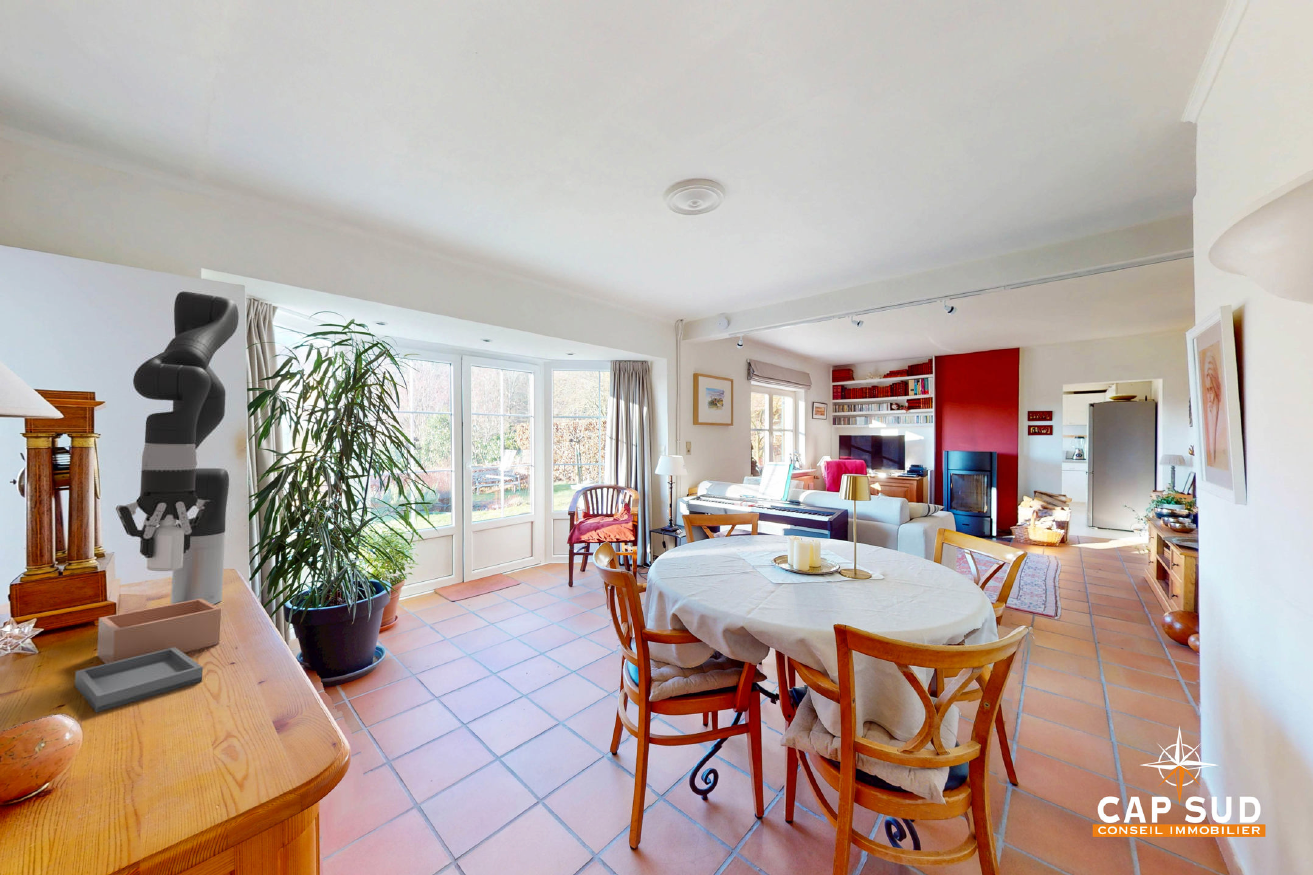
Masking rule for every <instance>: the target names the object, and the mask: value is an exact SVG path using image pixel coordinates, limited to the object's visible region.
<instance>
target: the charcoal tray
mask: <svg viewBox="0 0 1313 875" xmlns="http://www.w3.org/2000/svg"><path fill="white" fill-rule="evenodd" d="M203 668H204V667H203V666H202V665H201V664H199V663H197V662H196V661H195V660H193V658H191V657H190V656H188V655H187V654H185V653H183V652H181V651H180V650H178V649H177V648H176V647H173V648H169V649H165V650H161V651H157V652H152V653H148V654H144V655H140V656H136V657H132V658H128V659H124V660H120V661H115V662H111V663H107V664H105V663H103V664H100V665H97V666H96V665H95V666H91V667H87V668H84V669H80V670H79V669H77V670H75V676H74V677H75V678H74V679H75V680H74V687H75V688H76V689H77V691H78V692H79V693H80V694H81V695H82V696H83V698H84V699H85V700H86V702H87V703H88V704H89V705H90V706H91V708H92V709H93V711H95V713H96V714H97V713H100V712H104V711H108V710H110V709H113V708H117V707H120V706H124V705H126V704H130V703H133V702H134V703H135V702H137V701H141V700H143V699H147V698H150V697H155V696H157V695H161V694H164V693H167V692H171V691H174V690H177V689H181V688H184V687H188V686H190V685H194V684H197V683H201V682H203Z"/></svg>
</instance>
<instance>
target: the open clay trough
mask: <svg viewBox="0 0 1313 875" xmlns="http://www.w3.org/2000/svg"><path fill="white" fill-rule="evenodd" d="M221 614H222V608H220V607H218V606H217V605H216V604H211V603H209V602H207V601H205V600H204V599H196V600H191V601H186V602H180V603H175V604H171V603H170V604H165V605H161V606H154V607H149V608H144V609H139V610H138V609H137V610H134V611H133V610H132V611H128V612H121V613H117V614H112V615H108V616H107V615H106V616H102V617H98V628H97V629H98V632H97V648H96V649H97V651H96V652H97V653H96V656H97V657H98V658H99V659H100V660H101V661H102V662H103V664H107V663H111V662H115V661H120V660H124V659H128V658H132V657H136V656H140V655H144V654H148V653H152V652H157V651H161V650H165V649H169V648H173V647H176V648H177V649H178V650H180V651H181V652H183V653H184V654H185V653H188V652H191V651H195V650H196V651H197V650H200V649H204V648H208V647H212V646H216V645H219V644H220V637H221V635H220V634H221V617H222V616H221Z"/></svg>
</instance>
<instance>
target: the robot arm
mask: <svg viewBox="0 0 1313 875" xmlns="http://www.w3.org/2000/svg"><path fill="white" fill-rule="evenodd" d="M173 305H174V307H173V320H174V324H173V325H174V337H173V338H171V339H172V340H170V341H169V343H168V344H167V346H166V348H165V349H164V350H163V352H161V353H158V354H156V355H154V356H153V357H151V358H149V359H147V360H146V361H145V362H144V361H143V363H142V364H140V366H139V367H138V368H137V369H136V370H135V372H134V375H133V380H132V382H133V387H134V389H135V391H136V393H137V394H139V395H141V396H142V397H143V398H145V399H148V400H149V399H150V400H155V401H172V411H163V412H155V413H151V414H149V415H148V416H147V417H146V420H145V433H144V446H143V451H142V454H141V455H142V457H141V471H140V472H141V473H140V493H139V497H138V498H137V499H136V501H134V502H131V503H128V504H125V505H123V504H119V505H117V506H116V507H115V511H116V514H117V515H118V518H119V520H120V522H121V524H122V527H123V529H124V531H125V534H127V535H128V536H130V537H132V538H134V537H137V538H139V539H140V543H139V544H140V545H139V553H140V555H142V556H144V558H146V559H147V558H152V557H153V544H154V538H152V535H153V533H154V530H155V528H156V527H158V526H159V525H158V523H159V521H160V520H165V518H166V516H167V515H173V519H176V524H175V525H176V526H178V527H180V528H181V529H183V531H184V548H183V566H182V568H181V569H177V570H173V571H172V578H171V593H170V594H171V595H170V604H175V603H180V602H186V601H191V600H196V599H204V600H205V601H207V602H209V603H211V604H213V605H216V604H217V603H220V602H222V600H223V584H224V583H223V582H224V566H225V565H224V564H225V563H224V561H225V542H226V541H225V540H226V520H227V519H226V517H227V516H226V515H227V506H228V504H227V503H228V497H229V496H228V495H229V487H230V485H229V484H230V477H229V473H228V470H226V469H225V468H218V467H217V468H214V467H213V468H212V467H211V468H207V467H204V468H201V467H199V468H197V465H198V461H197V449H198V448H199V446H200V445H201V444H202V443H203V442H204V441H205V440H206V438H207V437H208V436H209V435H210V434H211V433H213V431H214V430H215V429H216V428H217V427H218V426H219V425H220V424H221V422H222V421H223V419H224V417H225V414H226V409H225V408H226V392H227V391H226V389H225V386H224V384H223V383H222V381H221V380H220V379H219V377H218V375H217V374H216V373H215V372H214V370H213V369H212V368H211V367H210V363H211V361H212V358H213V357H214V355H215V353H216V352H217V351H218V350H219V349H220V348H222V346H223V345H224V344H226V342H228V340H229V339H230V338H231V337H233V335H234V334H235V332H236V331H237V329H238V325H239V318H240V316H239V310H238V306H237V304H236V302H235V301H233V300H232V299H229V298H226V297H222V296H216V295H211V294H204V293H197V292H192V291H191V292H190V291H181V292H179V293H177V295H176V296H175V299H174V304H173ZM193 507H196V509H197V513H196V515H195V517H192V518H189V515H188V512H189V511H190V510H191V509H192V508H193ZM138 508H139V510H141V511H142V512H143V513H144V514H145V515H146V516H145V518H144V520H143V525H142V527H141V529H139V528H138V526H137V525H136V522H135V519H134V517H133V516H135V515H136V513H137V509H138Z"/></svg>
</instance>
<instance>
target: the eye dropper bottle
mask: <svg viewBox="0 0 1313 875" xmlns="http://www.w3.org/2000/svg"><path fill="white" fill-rule="evenodd" d="M176 524H177V523H176V519H173V515H167V516H166V518H165V520H160V521H159V523H158V525H157V527H156V528H155V530H154V533H153V535H152V538H154V544H153V557H152V558H146V569H147V570H149V571H153V572H171V571H172V572H173V570H177V569H181V568H182V566H183V548H184V531H183V529H181V528H180V527H178V526H176Z"/></svg>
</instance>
